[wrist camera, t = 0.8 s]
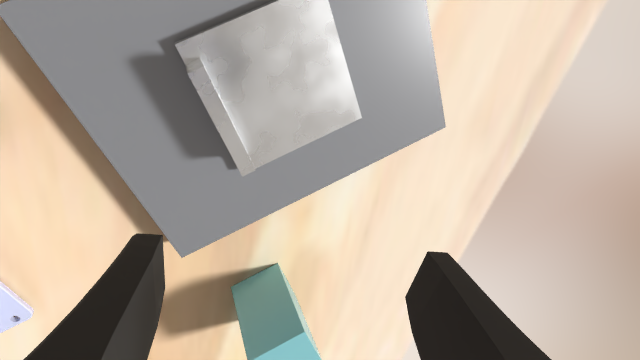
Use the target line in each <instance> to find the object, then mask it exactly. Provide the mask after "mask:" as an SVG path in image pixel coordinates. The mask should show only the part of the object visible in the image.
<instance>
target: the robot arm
mask: <svg viewBox="0 0 640 360" xmlns="http://www.w3.org/2000/svg"><path fill="white" fill-rule="evenodd" d="M164 291H165V275H164V256H163V236H162V235H152V234H135V235H134V236H132V238H131V239H130V240H129V242H128V243H127V245H126V246H125V247H124V249H123V250H122V251H121V253H120V254H119V255H118V257H117V258H116V259H115V260H114V262H113V263H112V264H111V265H110V267H109V268H108V269H107V270H106V272H105V273H104V274H103V275H102V277H101V278H100V279H99V280H98V281H97V282H96V284H95V285H94V286H93V287H92V288H91V289H90V290H89V292H88V293H87V294H86V295H85V296H84V297H83V299H82V300H81V301H80V302H79V303H78V304H77V305H76V307H75V308H74V309H73V310H72V311H71V312H70V313H69V314H68V315H67V316H66V317H65V318H64V319H63V320H62V321H61V322H60V323H59V325H58V326H57V327H56V328H55V329H54V330H53V331H52V332H51V333H50V334H49V335H48V336H47V337H46V338H45V339H44V340H43V341H42V342H41V343H40V344H39V345H38V346H37V347H36V348H35V349H34V350H33V351H32V352H31V353H30V354H29V355H28V356H27V357H26V358H25V359H24V360H147V358H148V355H149V352H150V349H151V345H152V342H153V339H154V336H155V333H156V329H157V326H158V321H159V316H160V312H161V307H162V301H163V296H164ZM405 298H406V304H407V309H408V315H409V320H410V325H411V330H412V333H413V337H414V340H415V343H416V346H417V349H418V352H419V356H420V358H421V360H551V359H550V358H549V357H548V356H547V355H546V354H545V353H544V352H542V351H541V350H540V349H539V348H538V347H537V346H536V345H535V344H534V343H533V342H532V341H531V340H530V339H529V338H528V337H527V336H526V335H525V334H524V333H523V332H522V331H521V330H520V329H519V328H518V327H517V326H516V325H515V324H514V323H513V322H512V321H511V320H510V319H509V318H508V317H507V316H506V315H505V314H504V313H503V312H502V311H501V310H500V309H499V308H498V307H497V305H496V304H495V303H494V302H493V301H492V300H491V299H490V298H489V297H488V296H487V295H486V294H485V293H484V292H483V291H482V290H481V288H480V287H479V286H478V285H477V284H476V283H475V282H474V281H473V280H472V278H471V277H470V276H469V275H468V274H467V273H466V272H465V271H464V270H463V269H462V268H461V267H460V265H459V264H458V263H457V262H456V261H455V260H454V259H453V258H452V257H451V256H450V255H449V254H448V253H443V252H427V254H426V256H425V258H424V260H423V262H422V264H421V266H420V268H419V270H418V272H417V274H416V276H415V278H414V280H413V282H412V284H411V287H410V289H409V291H408V293H407V295H406V297H405ZM33 312H34V311H33V308H32V307H31V306H30V305H28V304H27V303H26V302H25V301H24V300H22V299H21V298H20V297H19V296H18V295H16V294H15V293H14V292H13V291H12V290H10V289H9V288H8V287H7V286H6V285H5V284H3V283H2V282H1V281H0V333H2V332H4V331H6V330H8V329H10V328H12V327H14V326H16V325H18V324H20V323H22V322H24V321H26V320H28V319H30V318H31V317H32V315H33ZM13 316H18V318H17V317H13Z"/></svg>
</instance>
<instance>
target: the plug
mask: <svg viewBox="0 0 640 360" xmlns="http://www.w3.org/2000/svg"><path fill="white" fill-rule="evenodd" d="M231 289H232V294H233V298H234V303H235V307H236V311H237V316H238V320H239V325H240V329H241V333H242V338H243V342H244V347H245V351H246V356H247V360H322V359H321V357H320V354H319V352H318V349H317V347H316V344H315V342H314V340H313V337H312V335H311V332H310V330H309V327H308V325H307V322H306V320H305V318H304V315H303V313H302V310H301V308H300V305H299V303H298V301H297V298H296V296H295V294H294V292H293V290H292V288H291V286H290V284H289V283H288V281H287V279H286V277H285V275H284V274H283V272H282V270H281V268H280V266H279V265H278V263H277V264H275V265H273V266H271V267H269V268H267V269H265V270H263V271H261V272H259V273H257V274H255V275H253V276H251V277H249V278H247V279H245V280H243V281H241V282H240V283H238V284H236V285H234V286H232V287H231Z"/></svg>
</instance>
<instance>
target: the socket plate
mask: <svg viewBox="0 0 640 360" xmlns="http://www.w3.org/2000/svg"><path fill="white" fill-rule="evenodd" d="M271 1H274V0H9V1H6V2H4V3H1V4H0V16H1V18H2V19H3V20H4V22H5V23H6V24H7V26H8V27H9V28H10V30H11V31H12V32H13V34H14V35H15V36H16V38H17V39H18V40H19V42H20V43H21V44H22V46H23V47H24V48H25V50H26V51H27V52H28V54H29V55H30V56H31V58H32V59H33V60H34V62H35V63H36V64H37V66H38V67H39V68H40V70H41V71H42V72H43V74H44V75H45V76H46V78H47V79H48V80H49V82H50V83H51V84H52V86H53V87H54V88H55V90H56V91H57V92H58V94H59V95H60V96H61V98H62V99H63V100H64V102H65V103H66V104H67V106H68V107H69V108H70V110H71V111H72V112H73V114H74V115H75V116H76V118H77V119H78V120H79V122H80V123H81V124H82V126H83V127H84V128H85V130H86V131H87V132H88V134H89V135H90V136H91V138H92V139H93V140H94V142H95V143H96V144H97V146H98V147H99V148H100V150H101V151H102V152H103V154H104V155H105V156H106V158H107V159H108V160H109V162H110V163H111V164H112V166H113V167H114V168H115V170H116V171H117V172H118V174H119V175H120V176H121V178H122V179H123V180H124V182H125V183H126V184H127V185H128V187H129V188H130V189H131V191H132V192H133V193H134V195H135V196H136V197H137V199H138V200H139V201H140V203H141V204H142V205H143V207H144V208H145V209H146V211H147V212H148V213H149V215H150V216H151V217H152V219H153V220H154V221H155V223H156V224H157V225H158V227H159V228H160V229H161V231H162V232H163V233H164V235H165V236H166V237H167V239H168V240H169V241H170V243H171V244H172V245H173V247H174V248H175V249H176V251H177V252H178V253H179V255H180V256H181V257H185V256H187V255H189V254H191V253H193V252H195V251H197V250H199V249H201V248H203V247H205V246H207V245H209V244H211V243H213V242H215V241H217V240H219V239H221V238H223V237H225V236H227V235H229V234H231V233H233V232H235V231H237V230H239V229H241V228H243V227H245V226H247V225H249V224H251V223H253V222H255V221H257V220H259V219H261V218H263V217H265V216H267V215H269V214H271V213H273V212H275V211H277V210H279V209H281V208H283V207H285V206H287V205H289V204H291V203H293V202H296V201H298V200H300V199H302V198H304V197H306V196H308V195H310V194H312V193H314V192H316V191H318V190H320V189H322V188H324V187H326V186H328V185H330V184H332V183H334V182H336V181H338V180H340V179H342V178H344V177H346V176H348V175H350V174H352V173H354V172H356V171H358V170H360V169H362V168H364V167H366V166H368V165H370V164H372V163H374V162H376V161H378V160H380V159H382V158H384V157H386V156H388V155H390V154H392V153H394V152H396V151H398V150H400V149H402V148H404V147H407V146H409V145H411V144H413V143H415V142H417V141H419V140H421V139H423V138H425V137H427V136H429V135H431V134H433V133H435V132H437V131H439V130H441V129H443V128H445V127H446V126H445V119H444V113H443V106H442V100H441V93H440V87H439V80H438V74H437V67H436V60H435V54H434V47H433V41H432V34H431V28H430V21H429V15H428V8H427V2H426V0H328V1H329V4H330V8H331V11H332V15H333V18H334V22H335V25H336V29H337V32H338V36H339V39H340V43H341V46H342V50H343V53H344V57H345V60H346V64H347V67H348V71H349V74H350V78H351V81H352V85H353V88H354V92H355V95H356V99H357V102H358V106H359V109H360V113H361V116H362V118H361V119H358V120H356V121H354V122H352V123H350V124H348V125H346V126H344V127H342V128H340V129H338V130H335V131H333V132H331V133H329V134H327V135H325V136H323V137H321V138H319V139H317V140H315V141H312V142H310V143H308V144H306V145H304V146H302V147H300V148H298V149H296V150H294V151H292V152H289V153H287V154H285V155H283V156H281V157H279V158H277V159H275V160H273V161H271V162H269V163H266V164H264V165H262V166H260V167H258V168H256V170H255V171H253V172H251V173H249V174H247V175H245V176H243V177H242V175H241V173H240V171H239V169H238V168H237V166H236V164H235V162H234V160H233V158H232V156H231V154H230V153H229V151H228V149H227V147H226V145H225V143H224V141H223V139H222V137H221V136H220V134H219V132H218V130H217V128H216V126H215V124H214V122H213V121H212V119H211V117H210V115H209V113H208V111H207V109H206V107H205V106H204V104H203V102H202V100H201V98H200V96H199V94H198V92H197V90H196V89H195V87H194V85H193V83H192V81H191V79H190V77H189V75H188V73H187V70H186V66H185V63H184V61H183V59H182V57H181V56H180V54H179V52H178V50H177V48H176V46H175V44H174V43H175V42H177V41H180V40H182V39H184V38H187V37H189V36H191V35H194V34H196V33H198V32H201V31H203V30H206V29H208V28H210V27H213V26H215V25H217V24H220V23H222V22H224V21H227V20H229V19H231V18H234V17H236V16H238V15H241V14H243V13H246V12H248V11H250V10H253V9H255V8H257V7H260V6H262V5H264V4H267V3H269V2H271Z"/></svg>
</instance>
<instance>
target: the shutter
mask: <svg viewBox="0 0 640 360" xmlns="http://www.w3.org/2000/svg"><path fill="white" fill-rule="evenodd" d="M174 44H175V46H176V48H177V50H178V52H179V54H180V56H181V57H182V59H183V61H184V63H185V66H186V70H187V73H188V75H189V77H190V79H191V81H192V83H193V85H194V87H195V89H196V90H197V92H198V94H199V96H200V98H201V100H202V102H203V104H204V106H205V107H206V109H207V111H208V113H209V115H210V117H211V119H212V121H213V122H214V124H215V126H216V128H217V130H218V132H219V134H220V136H221V137H222V139H223V141H224V143H225V145H226V147H227V149H228V151H229V153H230V154H231V156H232V158H233V160H234V162H235V164H236V166H237V168H238V169H239V171H240V173H241V175H242V177H243V176H245V175H247V174H249V173H251V172H253V171H255V170H256V168H258V167H260V166H262V165H264V164H266V163H269V162H271V161H273V160H275V159H277V158H279V157H281V156H283V155H285V154H287V153H289V152H292V151H294V150H296V149H298V148H300V147H302V146H304V145H306V144H308V143H310V142H312V141H315V140H317V139H319V138H321V137H323V136H325V135H327V134H329V133H331V132H333V131H335V130H338V129H340V128H342V127H344V126H346V125H348V124H350V123H352V122H354V121H356V120H358V119H361V118H362V116H361V113H360V109H359V106H358V102H357V99H356V95H355V92H354V88H353V85H352V81H351V78H350V74H349V71H348V67H347V64H346V60H345V57H344V53H343V50H342V46H341V43H340V39H339V36H338V32H337V29H336V25H335V22H334V18H333V15H332V11H331V8H330V4H329V1H328V0H274V1H271V2H269V3H267V4H264V5H262V6H260V7H257V8H255V9H253V10H250V11H248V12H246V13H243V14H241V15H238V16H236V17H234V18H231V19H229V20H227V21H224V22H222V23H220V24H217V25H215V26H213V27H210V28H208V29H206V30H203V31H201V32H198V33H196V34H194V35H191V36H189V37H187V38H184V39H182V40H180V41H177V42H175V43H174Z"/></svg>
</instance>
